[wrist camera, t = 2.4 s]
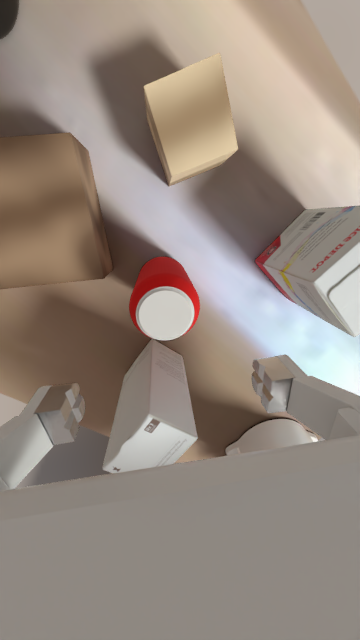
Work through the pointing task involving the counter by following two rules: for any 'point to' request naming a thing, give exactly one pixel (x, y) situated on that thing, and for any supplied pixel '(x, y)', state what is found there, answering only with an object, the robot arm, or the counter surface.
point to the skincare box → (151, 413)
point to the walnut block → (49, 213)
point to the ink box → (320, 265)
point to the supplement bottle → (8, 16)
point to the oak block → (191, 119)
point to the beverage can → (164, 300)
